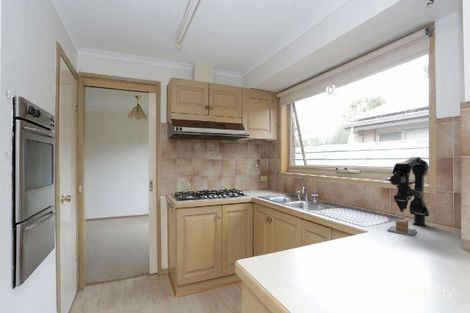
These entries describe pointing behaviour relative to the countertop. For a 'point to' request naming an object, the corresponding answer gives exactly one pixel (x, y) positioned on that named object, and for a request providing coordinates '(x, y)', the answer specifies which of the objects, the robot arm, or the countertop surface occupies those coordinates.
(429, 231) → the countertop surface
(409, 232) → the slate coaster
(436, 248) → the countertop surface
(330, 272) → the countertop surface
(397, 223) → the walnut block
